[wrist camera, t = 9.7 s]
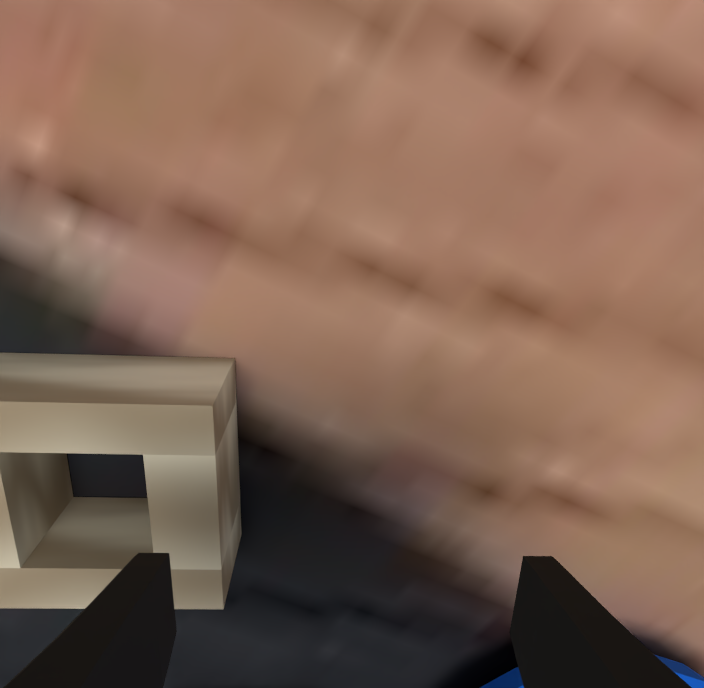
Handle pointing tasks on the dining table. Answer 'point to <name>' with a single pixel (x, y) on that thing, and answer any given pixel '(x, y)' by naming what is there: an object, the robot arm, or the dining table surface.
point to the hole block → (117, 438)
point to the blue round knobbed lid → (511, 682)
